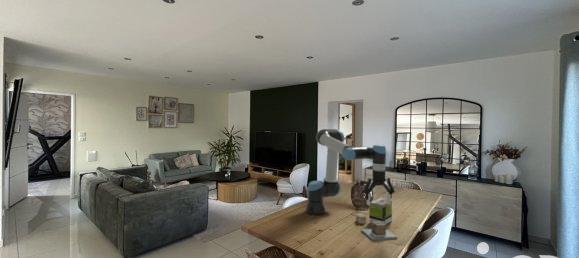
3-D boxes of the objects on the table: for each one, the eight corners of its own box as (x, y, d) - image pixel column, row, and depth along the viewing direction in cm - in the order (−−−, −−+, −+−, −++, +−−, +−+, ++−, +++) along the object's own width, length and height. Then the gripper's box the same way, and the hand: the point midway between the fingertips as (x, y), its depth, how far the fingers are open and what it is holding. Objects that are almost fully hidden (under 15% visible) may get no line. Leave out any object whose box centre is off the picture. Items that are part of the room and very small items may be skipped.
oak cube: (355, 221, 177) (356, 214, 177) (362, 220, 178) (362, 213, 178) (359, 223, 173) (359, 216, 172) (365, 223, 173) (366, 216, 173)
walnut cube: (371, 231, 157) (371, 221, 157) (380, 230, 158) (380, 221, 158) (376, 235, 151) (377, 225, 151) (385, 234, 152) (386, 224, 152)
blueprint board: (361, 230, 160) (361, 228, 160) (383, 229, 163) (383, 227, 163) (372, 240, 147) (372, 238, 147) (397, 238, 150) (397, 236, 150)
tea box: (378, 217, 185) (379, 197, 185) (392, 221, 178) (392, 200, 178) (368, 222, 175) (369, 201, 174) (382, 227, 167) (383, 204, 167)
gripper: (362, 171, 149) (362, 207, 150) (401, 170, 154) (400, 205, 154) (357, 169, 157) (356, 203, 157) (394, 168, 161) (393, 201, 161)
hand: (378, 204), depth 155 cm, fingers open, 13 cm apart
